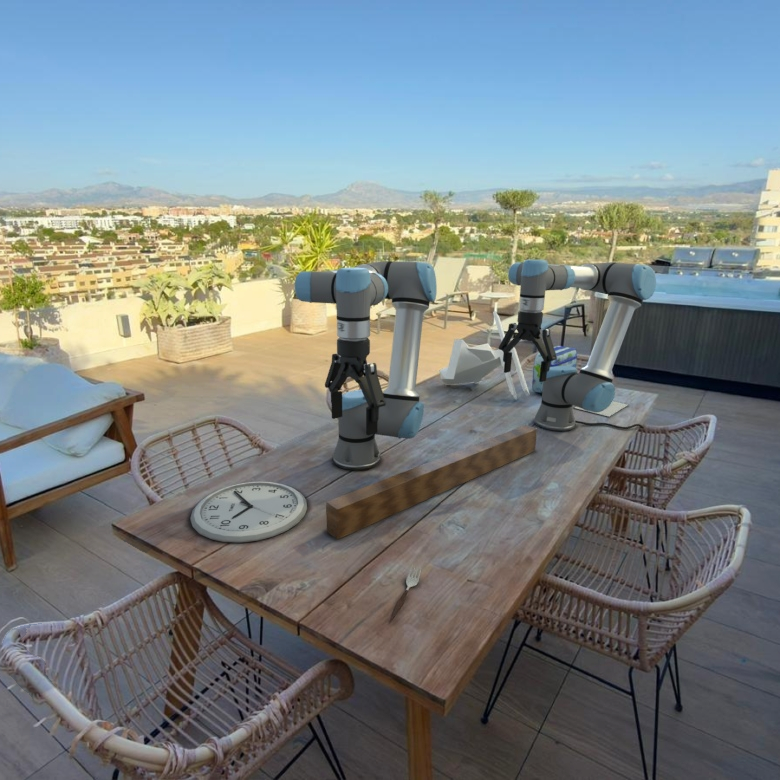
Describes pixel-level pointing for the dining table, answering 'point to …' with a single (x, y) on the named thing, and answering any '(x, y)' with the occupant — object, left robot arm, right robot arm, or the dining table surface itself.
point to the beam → (425, 481)
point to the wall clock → (248, 512)
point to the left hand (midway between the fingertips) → (353, 425)
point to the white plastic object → (479, 363)
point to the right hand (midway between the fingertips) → (524, 376)
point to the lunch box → (553, 364)
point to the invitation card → (609, 409)
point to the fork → (410, 583)
